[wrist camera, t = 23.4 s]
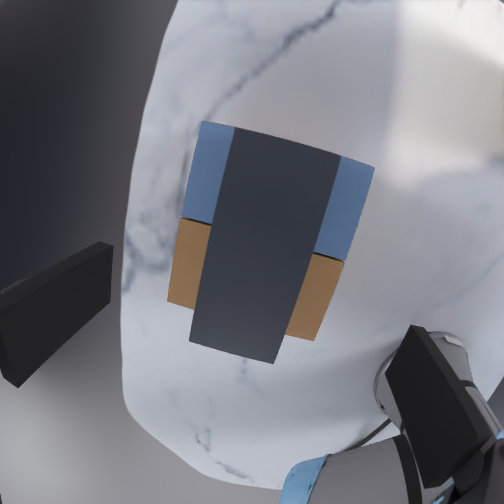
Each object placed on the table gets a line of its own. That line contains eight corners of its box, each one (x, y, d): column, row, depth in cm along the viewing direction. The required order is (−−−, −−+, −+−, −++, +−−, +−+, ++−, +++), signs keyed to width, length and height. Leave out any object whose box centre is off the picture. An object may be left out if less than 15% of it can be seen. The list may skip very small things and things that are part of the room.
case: (275, 326, 24) (273, 364, 19) (205, 308, 24) (188, 341, 20) (328, 156, 20) (341, 155, 15) (245, 134, 20) (234, 127, 15)
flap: (203, 121, 20) (201, 120, 20) (373, 167, 20) (375, 167, 20) (182, 215, 23) (181, 216, 22) (344, 259, 22) (345, 260, 22)
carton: (226, 131, 30) (201, 119, 20) (346, 164, 29) (375, 166, 20) (197, 262, 34) (166, 301, 25) (306, 292, 34) (313, 342, 24)
